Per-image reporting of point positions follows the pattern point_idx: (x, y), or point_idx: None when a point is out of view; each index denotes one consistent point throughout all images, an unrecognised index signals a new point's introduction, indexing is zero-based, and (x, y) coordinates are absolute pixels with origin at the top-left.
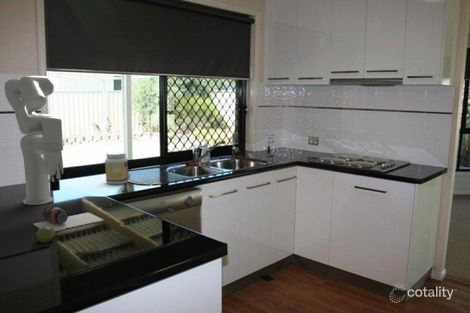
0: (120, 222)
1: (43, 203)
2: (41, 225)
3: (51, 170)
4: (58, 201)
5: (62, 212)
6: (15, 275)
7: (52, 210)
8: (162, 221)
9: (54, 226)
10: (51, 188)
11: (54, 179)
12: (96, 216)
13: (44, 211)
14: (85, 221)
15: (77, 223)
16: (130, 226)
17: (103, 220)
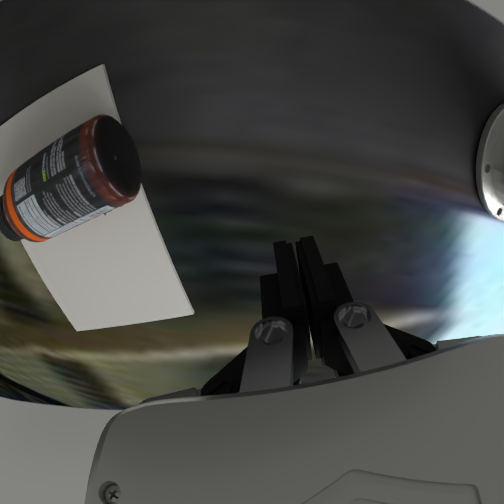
0: (58, 353)
1: (476, 167)
2: (54, 108)
3: (90, 489)
4: (471, 231)
5: (7, 229)
6: None
7: (17, 186)
8: (63, 403)
9: None
10: (287, 251)
11: (242, 363)
12: (120, 324)
13: (72, 132)
14: (65, 282)
15: (46, 253)
16: (29, 356)
17: (77, 328)
